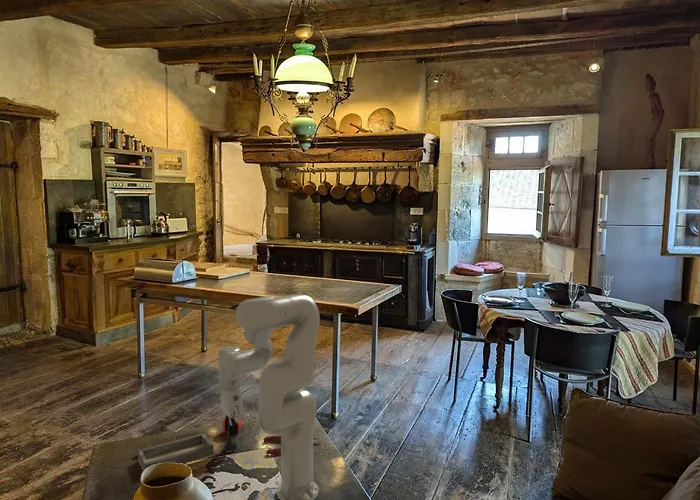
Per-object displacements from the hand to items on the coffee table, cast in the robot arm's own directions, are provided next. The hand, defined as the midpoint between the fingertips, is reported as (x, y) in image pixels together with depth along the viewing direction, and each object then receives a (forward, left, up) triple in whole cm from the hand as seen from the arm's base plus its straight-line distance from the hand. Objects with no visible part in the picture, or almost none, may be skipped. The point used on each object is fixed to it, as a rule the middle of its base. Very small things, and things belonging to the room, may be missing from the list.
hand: (231, 432), depth 173 cm
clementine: (+12, -5, -6) cm, 15 cm away
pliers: (-10, -18, -7) cm, 22 cm away
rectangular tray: (+4, +18, -6) cm, 19 cm away
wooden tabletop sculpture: (0, 0, -6) cm, 6 cm away
